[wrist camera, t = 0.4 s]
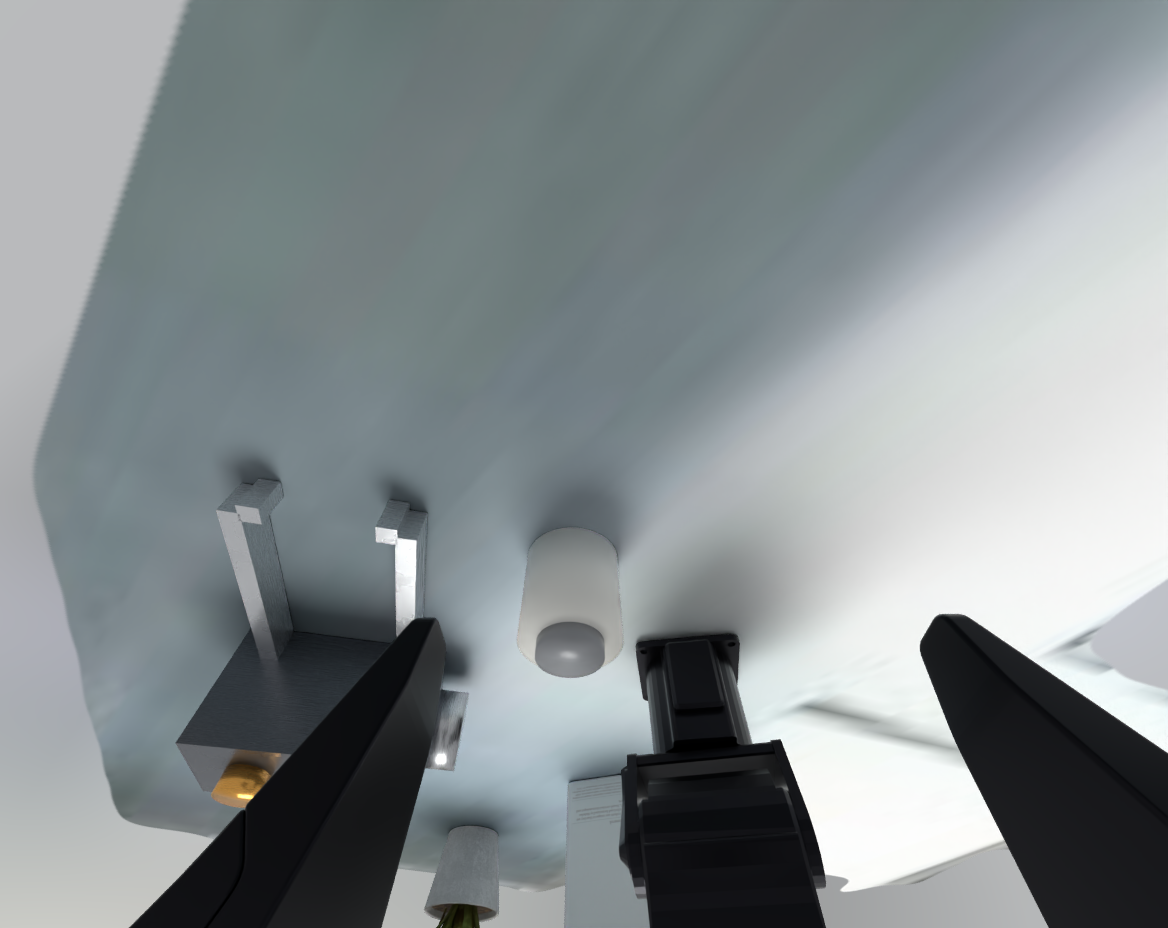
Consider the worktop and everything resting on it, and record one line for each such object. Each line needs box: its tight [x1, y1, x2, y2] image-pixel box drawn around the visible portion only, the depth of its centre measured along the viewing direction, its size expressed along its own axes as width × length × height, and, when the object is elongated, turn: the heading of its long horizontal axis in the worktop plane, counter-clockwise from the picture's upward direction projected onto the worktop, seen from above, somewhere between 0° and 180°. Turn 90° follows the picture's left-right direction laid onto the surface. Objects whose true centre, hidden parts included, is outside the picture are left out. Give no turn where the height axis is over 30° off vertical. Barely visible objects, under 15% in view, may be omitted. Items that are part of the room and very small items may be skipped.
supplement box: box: [564, 775, 650, 928], centre depth 40 cm, size 7×7×13 cm
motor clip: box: [176, 478, 469, 808], centre depth 26 cm, size 14×18×8 cm
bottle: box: [517, 527, 624, 678], centre depth 25 cm, size 5×5×6 cm
